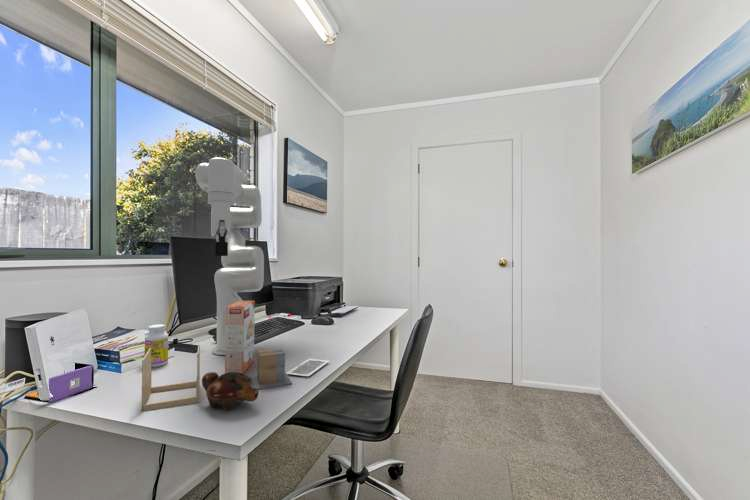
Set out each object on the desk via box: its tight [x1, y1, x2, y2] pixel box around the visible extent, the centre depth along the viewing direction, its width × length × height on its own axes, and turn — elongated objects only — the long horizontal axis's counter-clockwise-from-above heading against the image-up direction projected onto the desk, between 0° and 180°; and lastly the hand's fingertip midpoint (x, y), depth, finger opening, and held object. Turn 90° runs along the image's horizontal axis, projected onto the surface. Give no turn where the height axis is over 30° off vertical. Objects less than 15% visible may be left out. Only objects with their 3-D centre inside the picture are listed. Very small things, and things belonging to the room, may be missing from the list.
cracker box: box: [224, 300, 256, 375], centre depth 111 cm, size 14×6×21 cm, turn 7°
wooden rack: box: [141, 342, 201, 412], centre depth 88 cm, size 12×12×12 cm
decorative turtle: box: [201, 371, 260, 412], centre depth 83 cm, size 10×15×8 cm, turn 79°
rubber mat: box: [250, 371, 293, 391], centre depth 100 cm, size 10×10×1 cm
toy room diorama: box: [23, 362, 98, 403], centre depth 90 cm, size 12×12×7 cm
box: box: [256, 347, 286, 385], centre depth 100 cm, size 5×7×8 cm
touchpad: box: [285, 358, 330, 377], centre depth 110 cm, size 8×15×2 cm, turn 163°
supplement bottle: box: [144, 323, 169, 368], centre depth 114 cm, size 7×7×13 cm
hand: (221, 255), depth 105 cm, fingers open, 9 cm apart
